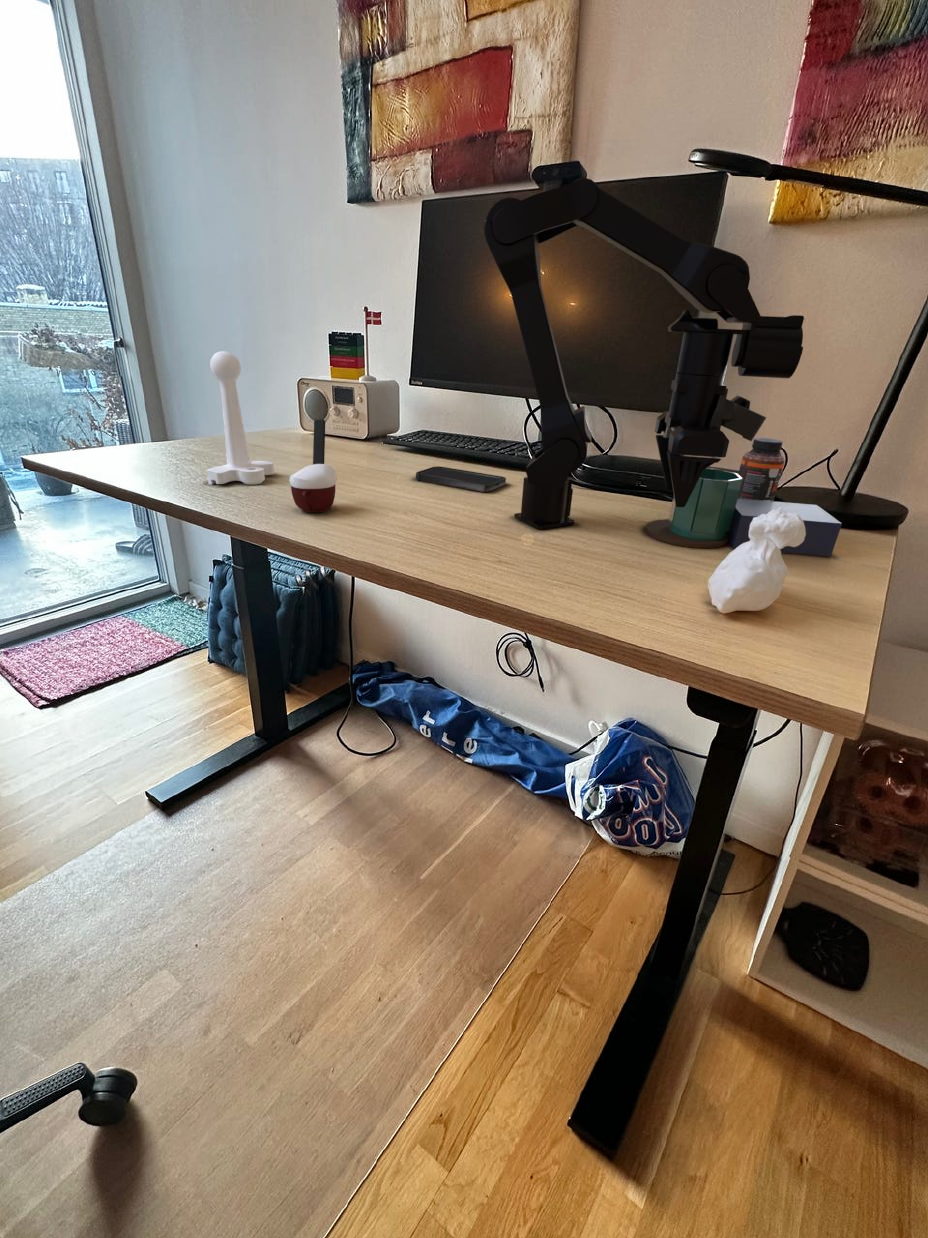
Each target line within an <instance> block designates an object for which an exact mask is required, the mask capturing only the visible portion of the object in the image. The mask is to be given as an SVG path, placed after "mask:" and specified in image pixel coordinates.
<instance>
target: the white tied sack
mask: <svg viewBox="0 0 928 1238" xmlns="http://www.w3.org/2000/svg"><path fill="white" fill-rule="evenodd" d="M748 536H749V538H750V541H749V542H745V543H743V544H741V545H740V546H738V547H737V548H734V549H733V550H732V551H730V552H729V553H728V554H727V556H726V557H725V558H724V559H723V560H722V561H721V562H720V564H718V566H717V567H716V569H714V572H713V574H712V575H711V576H710V578H709V579H708V581H707V588H708V593H709V596H710V600H711V605H712V606H714V607H716V609H717V610H718V612H719V613H721V614H729V613H732V612H736V611H741V612H745V611H747V612H760V611H762V610H765V609H766V608H768V607H769V606H771V605H772V604H773V603H774V602H775V601H776V600H777V599H778V598H779V597H780V595H781V593H782V590H783V588H784V581H785V579H786V577H787V576H788V567H787V565H786V563H785V561H784V559H783V556H782V553H781V551H780V549H782V548H784V547H785V546H792V547H796V546H798V545H800V544H801V543H802V542H803V541H804V539H805V536H806V531H805V525H804V522H803V520H802V518H801V517H800V516H799V514H790V513H786V511H785V510H782V509H781V508H778V509H777V510H772V511H770V512H769V513H767V515H766V514H761V515H760V516H758V517H754V518H753V520H752V522H751V523H750V529H749V535H748Z"/></svg>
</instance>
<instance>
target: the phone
mask: <svg viewBox="0 0 928 1238" xmlns="http://www.w3.org/2000/svg"><path fill="white" fill-rule="evenodd" d="M415 480H416V481H421V482H427V483H433V484H437V485H443V486H448V487H454V488H461V489H466V490H471V491H477V492H483V493H489V492H492V491H494V490H497V489H500V488H501V487H504V486H505V485H506V483H507V477H506V476H500V475H494V474H488V473H483V472H476V471H472V470H471V471H470V470H465V469H459V468H452V467H448V466H447V467H445V466H441V465H440V466H432V467H429V468H425V469H422V470H419V471H416V472H415Z"/></svg>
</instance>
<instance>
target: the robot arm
mask: <svg viewBox="0 0 928 1238" xmlns="http://www.w3.org/2000/svg"><path fill="white" fill-rule="evenodd" d="M578 227H583V228H584V229H586V230H588V231H589V232H591V233H593V234H595V235H596V236H598V237H600V238H601V239H603V240H605V241H606V242H608V243H609V244H611V245H613V246H614V247H616V248H617V249H619V250H620V251H623V252H624V253H626V254H628V255H629V256H631V257H632V258H634V259H636V260H637V261H639V262H641V263H642V264H644V265H645V266H648V267H649V268H651V269H653V270H654V271H656V272H658V273H659V274H660V275H662V277H664V279H666V280H667V281H668V282H669V284H670V285H672V286H673V288H674V289H675V290H676V291H677V292H678V293H679V294H680V295H681V296H682V297H683V298H684V299H685V300H687V301H688V302H689V303H690V304H691V305H692V306H693V307H694V308H695V309H696V310H698V311H699V312H702V313H705V314H714V313H715V314H716V315H718V316H719V318H721V319H722V320H723V321H724V322H726V323H727V324H742V327H741V329H737V328H735V329H733V328H719V320H718V318H713V317H712V318H711V317H693V315H692V314H691V313H690V310H683V311H682V313H681V314H680V316H679V317H678V318H677V319H676V320H675V321H673V322H672V323H670V324H669V325H668V326H667V331H668V332H670V333H683V335H682V341H681V346H680V350H679V351H680V352H679V357H678V361H677V366H676V367H677V368H676V373H675V378H674V380H673V379H672V380H671V385H670V389H671V390H672V393H671V398H670V399H671V400H670V405H669V410H668V411H663V412H662V413H661V414H660V415H658V416H657V417H656V420H655V421H656V422H655V427H654V432H655V433H656V435H655V440H656V443H657V449H658V454H659V459H660V463H661V467H662V468H661V469H662V473H663V479H664V484H665V488H666V490H667V491H672V493H673V497H674V499H675V505H676V507H685V506H686V504H687V502H688V500H689V498H690V496H691V494H692V492H693V490H694V488H695V486H696V484H697V482H698V480H699V478H700V476H701V474H702V472H703V471H704V470H705V469H706V468H710V467H711V466H712V465H714V464H717V463H719V462H721V460H722V459H723V458H726V457H727V453H728V449H729V444H730V440H729V438H728V437H727V435H726V434H725V433H724V431H722V430H721V427H723V428H725V429H727V430H730V431H732V432H733V433H735V434H738V435H739V436H741V437H742V438H743V439H745V440H747V441H749V442H752V441H754V439H755V436H756V435H757V433H758V432H759V431H760V428H761V427H762V425H763V424H764V423H765V421H766V419H767V417H766V416H764V415H762V414H761V413H758V412H756V411H754V410H751V400H749V399H747V398H745V397H743V396H742V395H738V394H736V395H735V396H734V397H733V398H732V399H730V400H729V399H728V398H727V397H728V393H729V388H728V387H727V385H725V384H724V381H725V376H726V372H727V367H728V362H729V360H730V359H729V358H730V355H731V360H730V366H731V367H732V368H737V374H738V376H739V377H750V378H751V377H752V378H772V379H791V378H792V377H793V375H794V374H795V372H796V370H797V368H798V366H799V364H800V361H801V358H802V355H803V350H804V346H803V342H804V341H803V340H804V329H803V323H804V320H805V316H804V315H797V314H793V315H791V314H790V315H785V316H784V315H783V316H772V315H771V316H768V315H761V313H760V311H759V309H758V307H757V305H756V302H755V300H754V298H753V296H752V293H751V291H750V289H749V286H750V281H751V274H750V273H751V272H750V266H749V264H748V262H747V261H746V260H745V259H744V258H743V257H742V256H741V255H738V254H736V253H733V252H731V251H728V250H724V249H721V248H718V247H715V246H713V245H709V244H704V243H700V242H696V241H692V240H689V239H688V238H684V237H682V236H680V235H678V234H677V233H675V232H674V231H672V230H670V229H668V228H666V227H665V226H663V225H662V224H660V223H659V222H657V221H655V220H653V219H652V218H650V217H648V216H647V215H645V214H644V213H642V212H640V211H638V210H637V209H635V208H634V207H632V206H630V205H629V204H627V203H625V202H623V201H622V200H620V199H619V198H617V197H616V196H614V195H613V194H610V193H609V192H608V191H606V190H605V189H602V188H601V187H600V186H598V184H597V183H596V182H595V181H594V180H593V179H591V178H588V177H581V178H577V179H575V180H574V181H572V182H570V183H568V184H565V185H563V186H560V187H556V188H553V189H549V190H546V191H541V192H539V193H535V194H533V195H530V196H529V197H526V198H524V199H521V200H520V199H519V198H517V197H506V198H501V199H499V200H498V201H496V202H495V203H493V205H492V207H490V209H489V210H488V212H487V215H486V217H485V220H484V221H483V233H484V234H483V235H484V239H485V242H486V244H487V246H488V249H489V251H490V253H491V256H492V257H493V259H494V261H495V264H496V266H497V268H498V270H499V273H500V274H501V276H502V278H503V281H504V282H505V284H506V286H507V289H508V291H509V293H510V296H511V299H512V303H513V307H514V311H515V314H516V318H517V322H518V326H519V330H520V334H521V337H522V342H523V346H524V348H525V353H526V357H527V360H528V361H527V362H528V365H529V368H530V372H531V376H532V379H533V383H534V388H535V391H536V395H537V399H538V403H539V410H540V433H541V443H542V445H541V446H542V448H540V449H539V450H538V451H537V452H536V453H535V454H533V455H532V456H531V458H530V460H529V462H528V463H527V465H526V468H525V473H526V476H525V477H523V483H522V495H521V505H520V512H517V513H514V516H513V518H515V519H517V520H519V521H521V522H523V523H525V524H527V525H530V526H531V527H534V528H536V529H539V530H544V529H548V528H556V527H563V526H569V525H570V526H571V525H574V524H575V521H576V520H575V519H572V518H571V517H570V516H571V510H572V502H573V493H574V489H573V487H572V486H573V478H571V477H569V476H570V474H571V473H573V472H575V471H577V470H578V469H579V468H581V467H582V466H583V464H584V463H585V461H586V459H587V456H588V448H589V444H591V443H592V432H591V431H590V429H589V427H588V424H587V420H586V406H585V405H582V406H580V407H578V408H575V407H574V405H573V403H572V401H571V399H570V396H569V394H568V390H567V386H566V382H565V377H564V374H563V373H564V372H563V370H562V365H561V361H560V357H559V352H558V349H557V343H556V340H555V337H554V336H555V335H554V332H553V328H552V324H551V320H550V315H549V312H548V307H547V303H546V299H545V295H544V290H543V287H542V286H543V285H542V274H541V273H542V272H541V253H540V252H541V251H540V244H543V243H546V242H549V241H550V240H552V239H555V238H556V237H558V236H561V235H562V234H565V233H567V232H568V231H570V230H573V229H575V228H578ZM734 335H736V337H735V341H734ZM733 341H734V344H733ZM732 344H733V348H732ZM731 349H732V351H731Z"/></svg>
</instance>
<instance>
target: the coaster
mask: <svg viewBox="0 0 928 1238" xmlns="http://www.w3.org/2000/svg"><path fill="white" fill-rule="evenodd" d="M669 523H670V520H669V518H666V519H665V518H664V519H656V520H652V521H649V522H648V523H646V525H645V532H646V534H647V535H648V536H649V537H651V538H653V539H655V540H658V541H659V542H663V543H666V544H668V545H669V544H670V545H674V546H679V547H685V548H691V549H693V548H694V549H713V548H720V547H723V546H726V545H727V544H728V543H729V541H728V540H729V536H728V534H727V535H726V537H725V538H723V539H720V540H697V539H691V538H687V537H683V536H680V535H677V534H675V533H673V532H671V531H670V530H669Z"/></svg>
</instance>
